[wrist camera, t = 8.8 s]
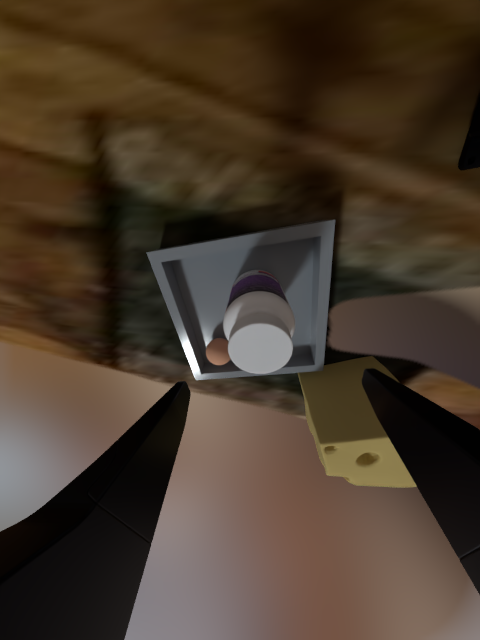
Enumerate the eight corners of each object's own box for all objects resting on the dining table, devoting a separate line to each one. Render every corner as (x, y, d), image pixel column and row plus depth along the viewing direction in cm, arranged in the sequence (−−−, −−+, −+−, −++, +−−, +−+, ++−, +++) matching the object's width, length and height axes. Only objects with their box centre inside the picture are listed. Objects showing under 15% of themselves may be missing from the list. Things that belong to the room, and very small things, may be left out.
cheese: (304, 413, 30) (327, 493, 21) (293, 365, 25) (316, 443, 16) (373, 403, 28) (430, 488, 19) (375, 350, 23) (452, 429, 14)
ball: (231, 331, 22) (228, 347, 19) (235, 352, 23) (233, 369, 21) (206, 334, 22) (199, 350, 20) (212, 354, 24) (206, 372, 21)
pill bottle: (221, 285, 19) (198, 336, 11) (266, 258, 18) (281, 293, 9) (247, 323, 21) (244, 392, 13) (289, 302, 20) (319, 364, 11)
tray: (323, 219, 16) (335, 219, 14) (316, 356, 24) (323, 370, 21) (159, 248, 18) (146, 252, 16) (200, 366, 26) (195, 380, 24)
